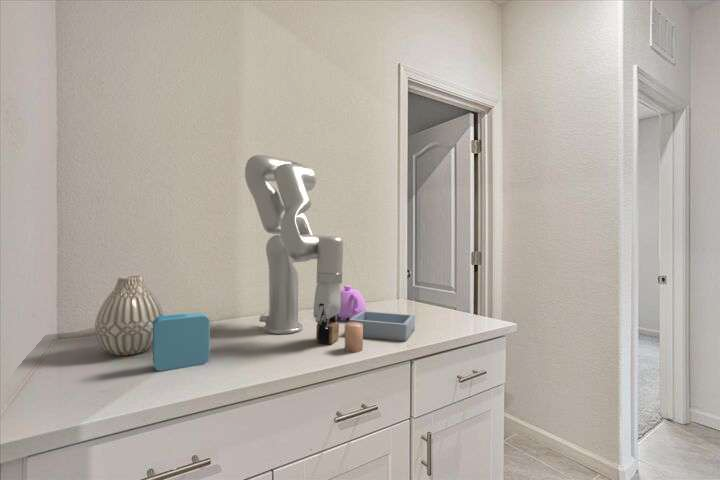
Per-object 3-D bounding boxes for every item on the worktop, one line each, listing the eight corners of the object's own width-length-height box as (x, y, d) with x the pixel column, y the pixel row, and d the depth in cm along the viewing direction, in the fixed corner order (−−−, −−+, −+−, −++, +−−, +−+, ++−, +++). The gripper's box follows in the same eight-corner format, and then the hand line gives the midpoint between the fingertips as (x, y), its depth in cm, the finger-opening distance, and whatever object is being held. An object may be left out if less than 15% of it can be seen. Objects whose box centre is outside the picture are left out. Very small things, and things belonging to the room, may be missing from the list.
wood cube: (316, 341, 110) (316, 324, 110) (323, 337, 115) (323, 320, 115) (331, 343, 109) (332, 326, 109) (338, 339, 114) (338, 322, 113)
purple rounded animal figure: (320, 313, 151) (320, 283, 151) (352, 310, 157) (353, 281, 157) (339, 324, 133) (339, 290, 133) (374, 321, 139) (375, 288, 139)
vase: (91, 349, 103) (91, 275, 102) (156, 338, 113) (156, 272, 112) (98, 365, 90) (97, 282, 90) (170, 352, 101) (170, 277, 100)
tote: (348, 335, 119) (348, 319, 119) (362, 325, 132) (362, 310, 132) (406, 341, 113) (406, 324, 113) (414, 329, 127) (415, 315, 127)
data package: (206, 358, 96) (206, 311, 96) (209, 363, 92) (209, 314, 92) (152, 366, 90) (152, 316, 90) (154, 372, 86) (154, 320, 86)
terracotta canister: (342, 351, 103) (342, 325, 103) (348, 346, 108) (348, 321, 108) (359, 353, 102) (359, 327, 101) (364, 347, 106) (365, 323, 106)
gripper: (329, 274, 120) (327, 330, 121) (304, 281, 104) (302, 345, 105) (351, 275, 118) (349, 333, 119) (329, 283, 102) (327, 349, 103)
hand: (327, 338), depth 112 cm, fingers closed on wood cube, 5 cm apart
